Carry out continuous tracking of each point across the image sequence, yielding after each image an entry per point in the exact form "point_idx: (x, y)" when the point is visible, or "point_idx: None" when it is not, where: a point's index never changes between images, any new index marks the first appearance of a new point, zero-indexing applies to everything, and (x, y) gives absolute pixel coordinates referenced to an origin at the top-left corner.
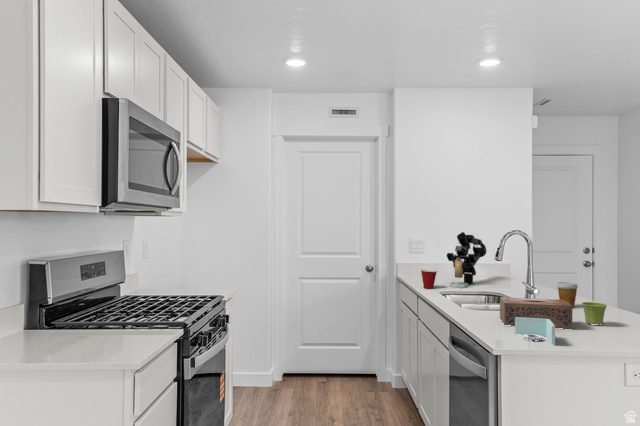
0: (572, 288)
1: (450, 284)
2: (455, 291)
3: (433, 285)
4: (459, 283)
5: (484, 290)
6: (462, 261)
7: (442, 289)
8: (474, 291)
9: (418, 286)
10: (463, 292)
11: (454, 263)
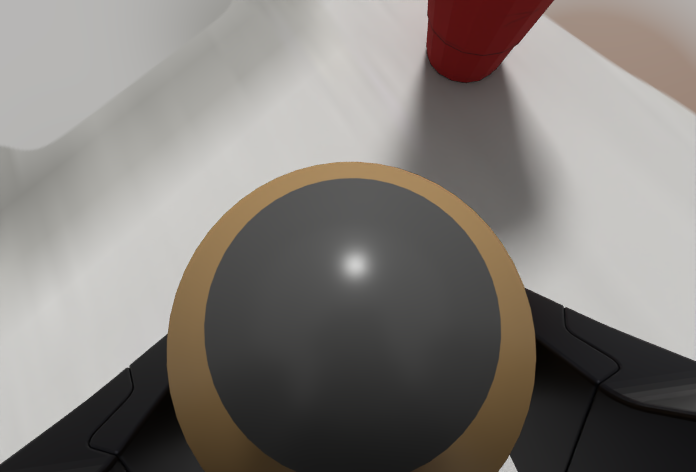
0: None
1: None
2: (234, 72)
3: (430, 38)
4: None
5: (48, 291)
6: (183, 353)
7: (359, 85)
8: (111, 172)
9: (588, 83)
10: (166, 72)
11: None
